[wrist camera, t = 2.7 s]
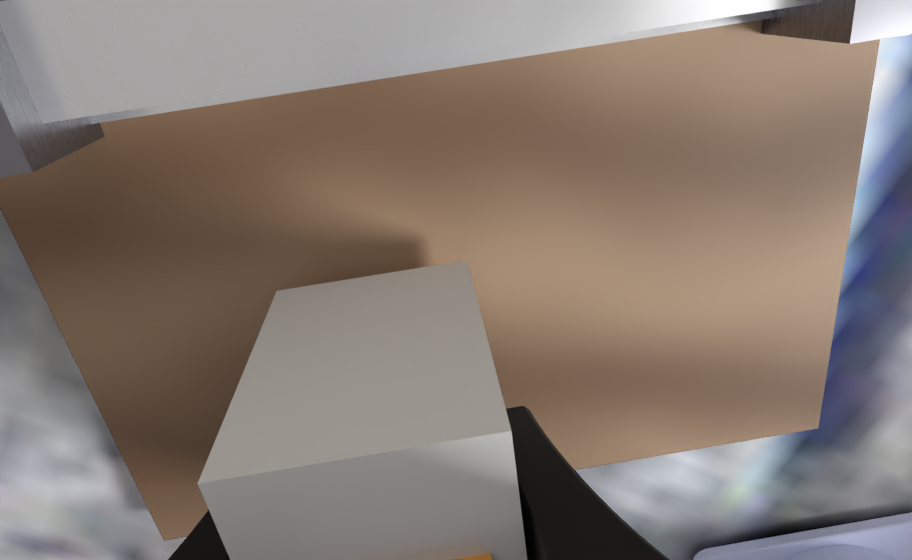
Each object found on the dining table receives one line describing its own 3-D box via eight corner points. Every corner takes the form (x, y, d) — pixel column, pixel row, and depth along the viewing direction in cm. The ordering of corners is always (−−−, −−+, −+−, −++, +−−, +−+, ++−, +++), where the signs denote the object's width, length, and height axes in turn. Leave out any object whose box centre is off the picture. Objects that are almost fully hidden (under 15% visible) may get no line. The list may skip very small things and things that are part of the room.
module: (498, 482, 15) (550, 735, 10) (341, 508, 15) (312, 777, 10) (467, 259, 13) (515, 446, 7) (276, 291, 13) (190, 500, 7)
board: (796, 405, 18) (818, 428, 17) (176, 511, 17) (163, 540, 16) (918, -495, 10) (972, -545, 9) (-220, -338, 9) (-286, -373, 8)
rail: (834, 22, 12) (940, 30, 10) (27, 148, 12) (-66, 187, 9) (857, -160, 11) (986, -202, 8) (-51, -24, 10) (-181, -29, 8)
